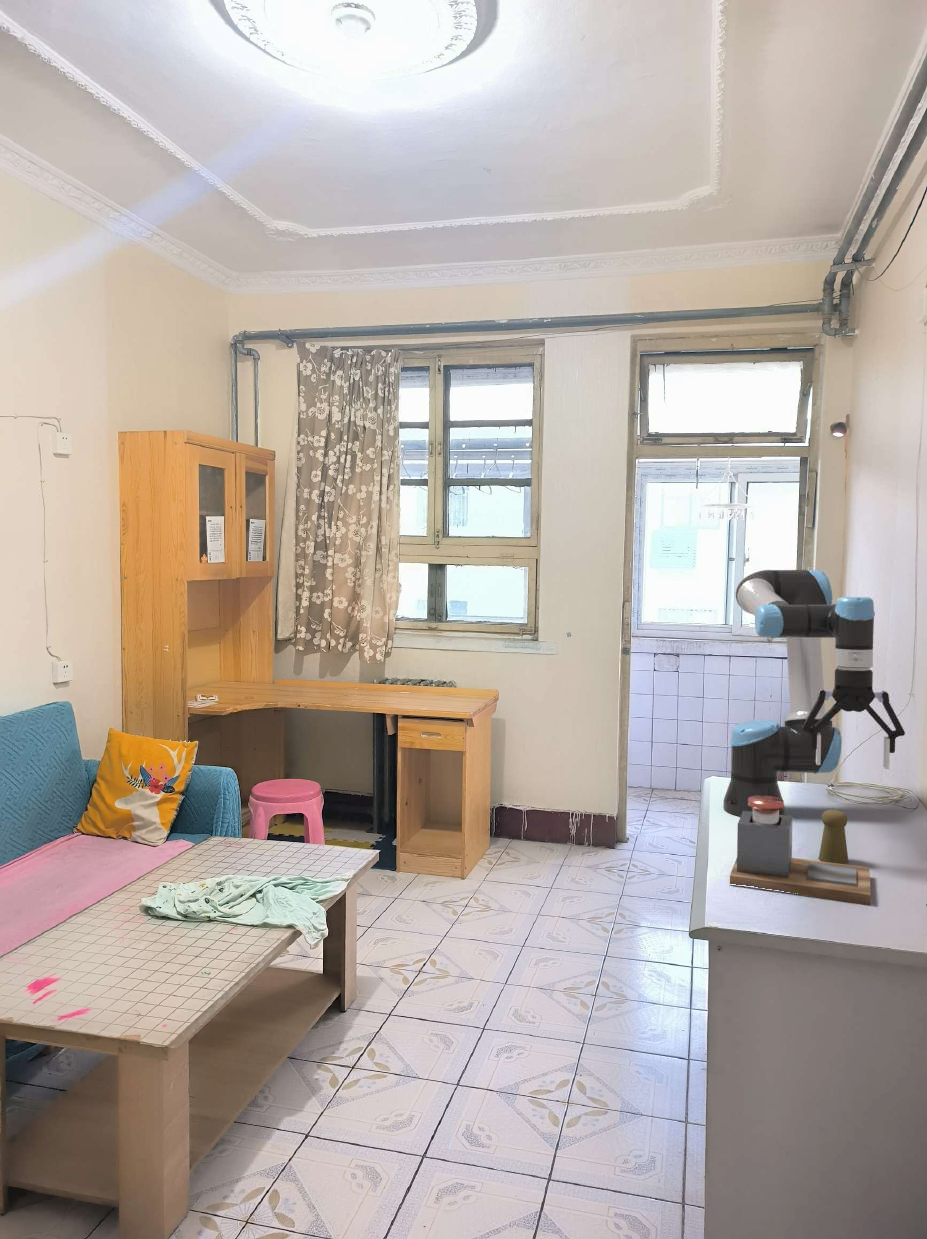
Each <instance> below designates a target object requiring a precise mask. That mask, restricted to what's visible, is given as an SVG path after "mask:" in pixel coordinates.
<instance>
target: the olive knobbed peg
mask: <svg viewBox="0 0 927 1239" xmlns="http://www.w3.org/2000/svg"><path fill="white" fill-rule="evenodd" d="M821 821H822V824H823V825H824V826H823V830H822V831H823V832H822V838H821V843H820V849H819V853H818V854H819V855H818V861H822V862H830V863H838V864H846V865H848V863H849V855H848V846H847V838H846V837H847V836H846V828H845V827H846V826H847V824H848V816H847V814H846V813H845V812H844V811H842V810H839V809H827V810H824V811H823V812H822V814H821Z"/></svg>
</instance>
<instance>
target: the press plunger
mask: <svg viewBox="0 0 927 1239" xmlns="http://www.w3.org/2000/svg"><path fill="white" fill-rule="evenodd" d="M782 799H783V798H782ZM782 799H780V798H777V797H772V796H763V795H758V796H751V797H749V798H748V805H749V806H750V807H752V808H753V815H752V823H760V824H769V825H778V826H779V810H781V809H783V808H784V809H785V801H784V800H782Z"/></svg>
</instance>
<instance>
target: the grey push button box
mask: <svg viewBox="0 0 927 1239" xmlns="http://www.w3.org/2000/svg"><path fill="white" fill-rule="evenodd" d="M752 815H753V812H751V811H743V813H742V815H741V816H739V819H738V822H737V835H736V836H737V842H736V844H737V845H736V848H737V849H736V858H737V871H738V872H745V873H753V874H760V875H768V876H775V877H782V878H789V873H790V868H791V863H792V858H793V856H792V855H793V823H794V822H793V818H794V817H793V815H789V814H788V815H786V814H783V815H779V826H778V825H769V824H760V823H752Z"/></svg>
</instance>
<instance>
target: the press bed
mask: <svg viewBox="0 0 927 1239" xmlns="http://www.w3.org/2000/svg"><path fill="white" fill-rule="evenodd" d="M870 874H871V873H870V867H868V866H861V865H853V864H838V863H830V862H822V861H820V860H814V859H806V858H799V857H798V858H796V857H792V863H791V868H790V873H789V878H782V877H775V876H768V875H760V874H753V873H745V872H738V871H737V857H736V859H735V860H734V864H733V866H732V869H731V872H730V875H729V885H730V884H736V885H746V886H754V887H758V888H765V889H772V890H779V891H784V892H790V893H796V894H797V893H798V894H801V895H800V896H803V895H806V896H805V897H810V896H812V897H811V898H817V897H818V898H819V899H825V900H834V901H839V902H846V903H847V902H848V903H854V904H860V905H868V906H871V895H872V894H871V876H870ZM796 894H795V895H796Z"/></svg>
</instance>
